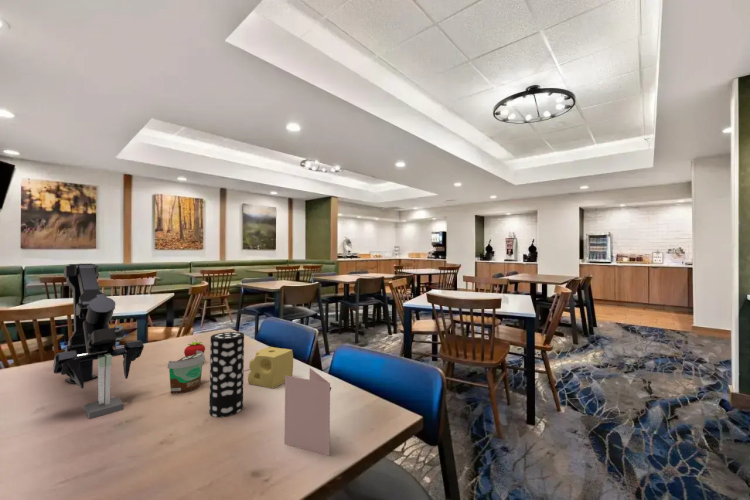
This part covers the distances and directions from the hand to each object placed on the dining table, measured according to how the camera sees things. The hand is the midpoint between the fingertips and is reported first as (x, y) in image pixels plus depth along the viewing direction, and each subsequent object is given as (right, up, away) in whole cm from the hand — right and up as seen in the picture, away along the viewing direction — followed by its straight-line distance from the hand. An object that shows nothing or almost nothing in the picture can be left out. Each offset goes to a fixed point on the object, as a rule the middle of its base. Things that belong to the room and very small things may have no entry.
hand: (105, 382), depth 87 cm
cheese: (+37, -9, +22) cm, 44 cm away
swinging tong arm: (-1, -6, +1) cm, 6 cm away
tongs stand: (-1, -8, +1) cm, 8 cm away
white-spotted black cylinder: (+32, -8, +1) cm, 33 cm away
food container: (+14, -8, +16) cm, 23 cm away
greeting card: (+57, -8, -15) cm, 59 cm away
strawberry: (+3, -9, +38) cm, 39 cm away
